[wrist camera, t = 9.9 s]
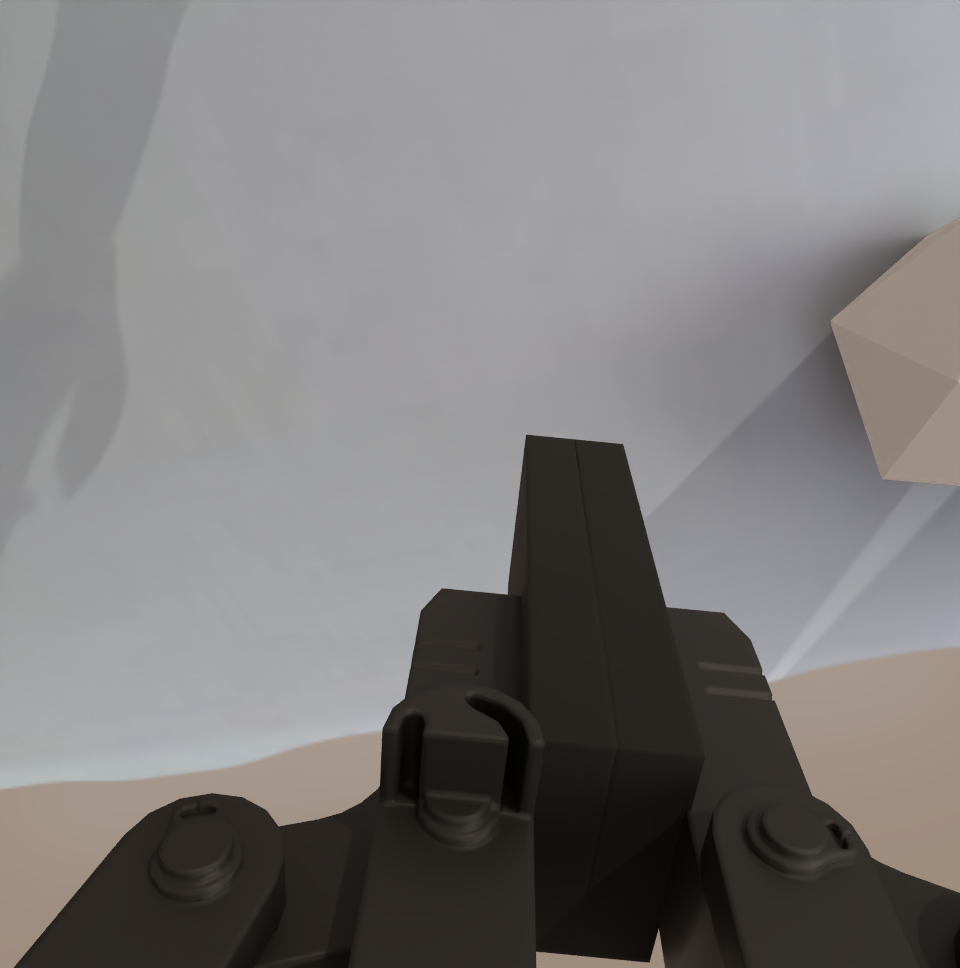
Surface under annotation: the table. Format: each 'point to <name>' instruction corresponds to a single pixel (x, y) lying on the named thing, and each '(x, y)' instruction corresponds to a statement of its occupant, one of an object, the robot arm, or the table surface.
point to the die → (909, 361)
